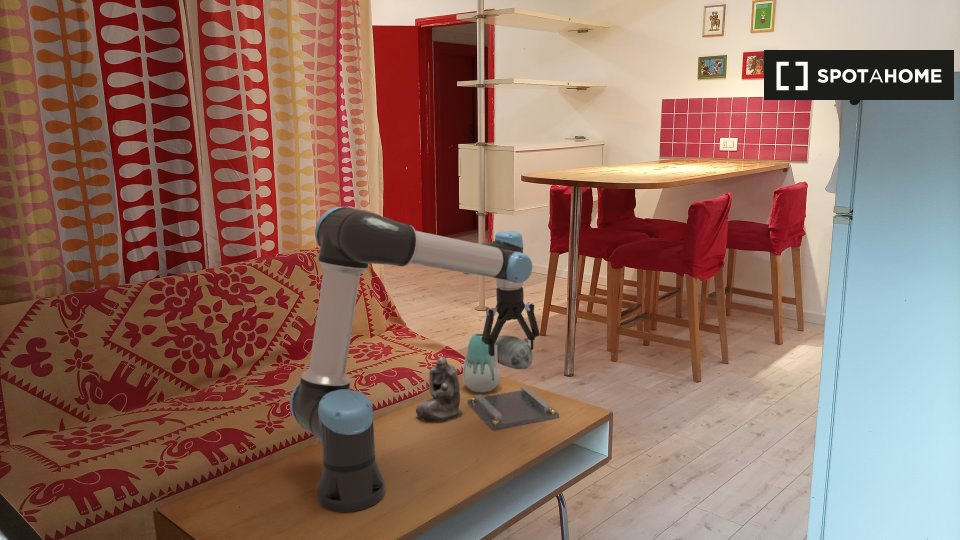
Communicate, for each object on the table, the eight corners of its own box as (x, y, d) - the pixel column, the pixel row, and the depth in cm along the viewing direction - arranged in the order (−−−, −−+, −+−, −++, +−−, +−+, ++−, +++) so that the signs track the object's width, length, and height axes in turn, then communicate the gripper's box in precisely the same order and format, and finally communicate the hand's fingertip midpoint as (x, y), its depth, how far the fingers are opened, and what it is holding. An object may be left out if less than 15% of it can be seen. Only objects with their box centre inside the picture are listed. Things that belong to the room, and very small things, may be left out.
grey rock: (545, 357, 202) (526, 328, 199) (521, 378, 198) (502, 350, 196) (520, 354, 214) (502, 328, 211) (497, 375, 210) (479, 348, 208)
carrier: (492, 430, 196) (492, 420, 195) (467, 403, 214) (467, 394, 213) (559, 417, 203) (559, 407, 202) (529, 392, 221) (529, 383, 220)
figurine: (416, 424, 201) (413, 363, 197) (415, 407, 212) (413, 349, 208) (463, 421, 202) (461, 360, 198) (460, 405, 213) (458, 347, 209)
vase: (484, 379, 233) (482, 325, 229) (508, 388, 224) (507, 333, 220) (455, 388, 226) (453, 333, 222) (479, 399, 217) (478, 342, 213)
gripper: (477, 294, 193) (479, 373, 198) (551, 285, 201) (552, 361, 206) (467, 288, 200) (470, 365, 205) (540, 279, 208) (540, 353, 213)
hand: (511, 363), depth 205 cm, fingers closed on grey rock, 9 cm apart
